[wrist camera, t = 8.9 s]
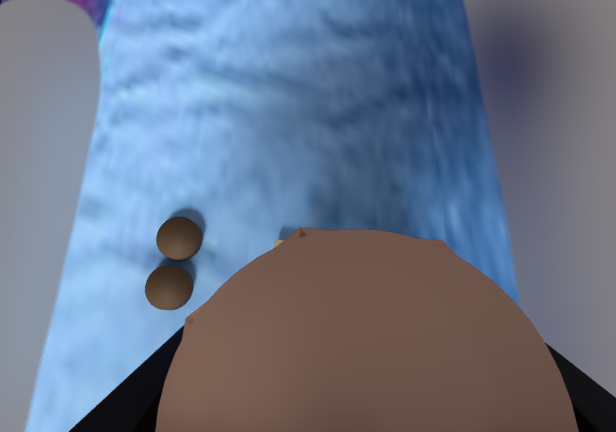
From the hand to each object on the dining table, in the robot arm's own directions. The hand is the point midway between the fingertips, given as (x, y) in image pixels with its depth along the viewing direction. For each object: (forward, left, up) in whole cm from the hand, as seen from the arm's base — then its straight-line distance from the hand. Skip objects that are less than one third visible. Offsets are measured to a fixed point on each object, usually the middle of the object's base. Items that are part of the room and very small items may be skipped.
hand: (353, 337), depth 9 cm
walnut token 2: (+1, +10, -14) cm, 17 cm away
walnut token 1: (+4, +10, -14) cm, 18 cm away
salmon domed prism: (-1, 0, -7) cm, 7 cm away
